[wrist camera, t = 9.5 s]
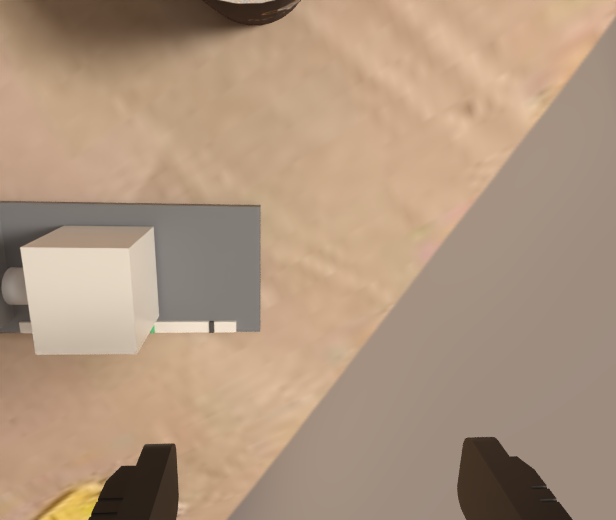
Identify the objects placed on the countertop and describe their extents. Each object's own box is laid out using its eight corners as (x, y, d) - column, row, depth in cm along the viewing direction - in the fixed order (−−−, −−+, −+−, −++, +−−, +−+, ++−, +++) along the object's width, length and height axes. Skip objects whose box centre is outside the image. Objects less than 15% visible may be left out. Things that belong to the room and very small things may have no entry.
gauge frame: (-15, 328, 29) (-79, 374, 24) (-37, 200, 27) (-113, 219, 22) (260, 327, 31) (258, 370, 25) (260, 205, 29) (257, 224, 23)
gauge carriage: (42, 333, 29) (-3, 374, 24) (28, 225, 27) (-25, 246, 22) (160, 332, 29) (138, 373, 25) (153, 226, 28) (128, 248, 23)
